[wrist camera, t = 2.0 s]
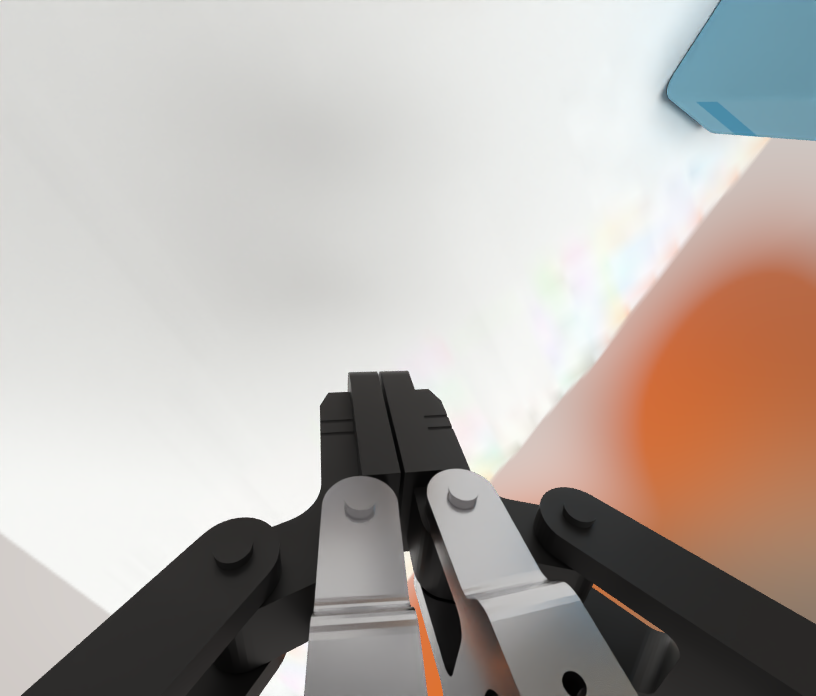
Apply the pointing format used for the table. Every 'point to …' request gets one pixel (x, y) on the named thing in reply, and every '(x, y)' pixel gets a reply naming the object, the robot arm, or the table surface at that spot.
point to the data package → (752, 70)
